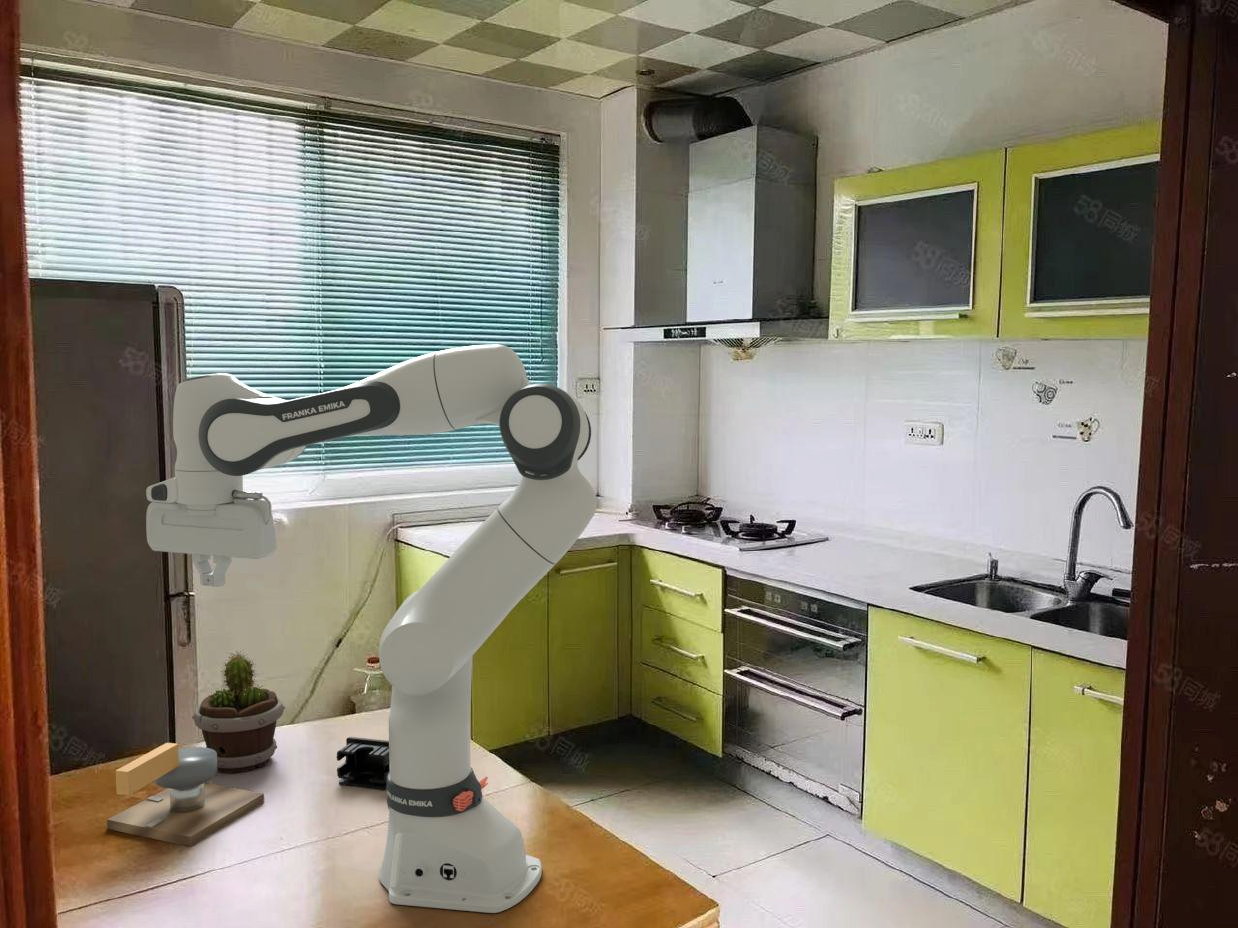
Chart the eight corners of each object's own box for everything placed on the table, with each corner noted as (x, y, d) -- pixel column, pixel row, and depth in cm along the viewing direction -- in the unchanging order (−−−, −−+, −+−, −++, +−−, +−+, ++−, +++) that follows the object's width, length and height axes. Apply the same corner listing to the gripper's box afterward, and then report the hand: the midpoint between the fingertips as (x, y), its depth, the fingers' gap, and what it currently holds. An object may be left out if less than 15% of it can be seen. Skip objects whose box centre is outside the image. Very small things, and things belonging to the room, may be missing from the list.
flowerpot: (282, 774, 173) (278, 661, 171) (187, 782, 169) (182, 667, 167) (289, 744, 187) (286, 639, 185) (202, 751, 183) (198, 644, 181)
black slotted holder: (408, 774, 173) (407, 736, 172) (388, 791, 166) (388, 751, 166) (356, 768, 175) (355, 731, 175) (334, 785, 169) (334, 746, 168)
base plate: (264, 802, 161) (263, 792, 161) (190, 846, 147) (189, 835, 146) (186, 787, 167) (185, 778, 167) (107, 828, 152) (106, 818, 152)
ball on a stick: (180, 762, 162) (178, 723, 161) (229, 767, 160) (228, 728, 159) (96, 811, 144) (94, 768, 143) (151, 818, 142) (149, 773, 141)
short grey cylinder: (212, 801, 158) (210, 774, 158) (188, 815, 153) (187, 786, 153) (187, 797, 160) (186, 770, 159) (162, 810, 155) (161, 782, 155)
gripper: (285, 489, 140) (287, 586, 141) (170, 483, 147) (174, 575, 148) (254, 494, 134) (257, 596, 136) (136, 488, 141) (140, 584, 143)
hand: (212, 585), depth 142 cm, fingers closed
